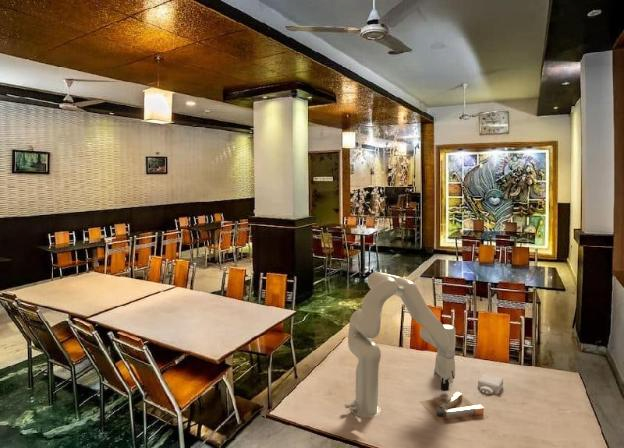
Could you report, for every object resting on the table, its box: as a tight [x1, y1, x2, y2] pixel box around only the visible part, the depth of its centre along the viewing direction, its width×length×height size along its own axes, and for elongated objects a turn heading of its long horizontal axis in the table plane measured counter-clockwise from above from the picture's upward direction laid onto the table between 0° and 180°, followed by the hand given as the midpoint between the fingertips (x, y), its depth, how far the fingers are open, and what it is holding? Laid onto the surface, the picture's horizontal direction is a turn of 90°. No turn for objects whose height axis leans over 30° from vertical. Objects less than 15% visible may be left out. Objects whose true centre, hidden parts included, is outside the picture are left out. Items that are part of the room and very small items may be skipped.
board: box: [418, 395, 489, 425], centre depth 178 cm, size 22×18×1 cm
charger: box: [477, 373, 504, 395], centre depth 196 cm, size 5×9×15 cm
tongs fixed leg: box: [444, 404, 485, 419], centre depth 172 cm, size 17×2×3 cm, turn 104°
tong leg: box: [436, 391, 463, 417], centre depth 179 cm, size 19×3×3 cm, turn 134°
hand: (444, 390), depth 191 cm, fingers closed
